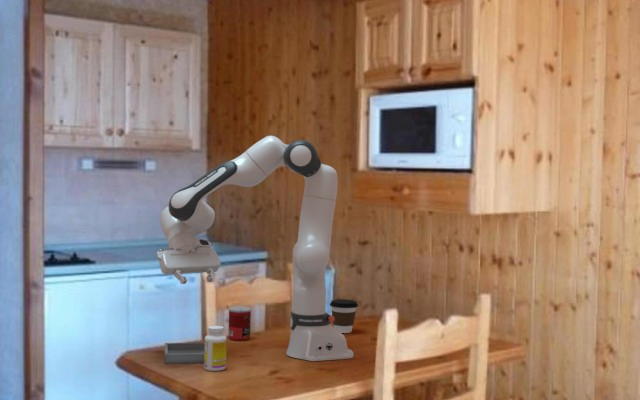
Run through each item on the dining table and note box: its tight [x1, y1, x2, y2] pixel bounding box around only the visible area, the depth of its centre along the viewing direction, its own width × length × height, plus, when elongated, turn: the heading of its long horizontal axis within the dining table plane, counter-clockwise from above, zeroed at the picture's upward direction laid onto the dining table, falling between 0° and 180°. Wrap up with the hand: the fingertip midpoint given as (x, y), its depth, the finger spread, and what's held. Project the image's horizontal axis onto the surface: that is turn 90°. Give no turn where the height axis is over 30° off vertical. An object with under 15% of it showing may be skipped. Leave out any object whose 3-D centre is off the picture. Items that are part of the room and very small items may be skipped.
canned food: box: [227, 306, 252, 342], centre depth 270 cm, size 8×8×11 cm
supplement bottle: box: [203, 325, 228, 372], centre depth 228 cm, size 7×7×13 cm
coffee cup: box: [329, 298, 359, 334], centre depth 287 cm, size 11×11×12 cm
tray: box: [164, 341, 205, 365], centre depth 241 cm, size 18×16×3 cm
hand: (197, 281), depth 237 cm, fingers open, 8 cm apart
